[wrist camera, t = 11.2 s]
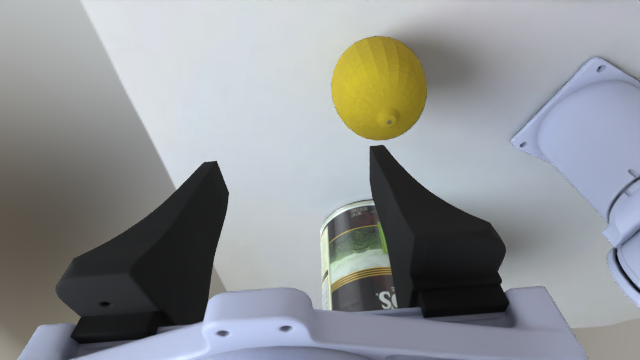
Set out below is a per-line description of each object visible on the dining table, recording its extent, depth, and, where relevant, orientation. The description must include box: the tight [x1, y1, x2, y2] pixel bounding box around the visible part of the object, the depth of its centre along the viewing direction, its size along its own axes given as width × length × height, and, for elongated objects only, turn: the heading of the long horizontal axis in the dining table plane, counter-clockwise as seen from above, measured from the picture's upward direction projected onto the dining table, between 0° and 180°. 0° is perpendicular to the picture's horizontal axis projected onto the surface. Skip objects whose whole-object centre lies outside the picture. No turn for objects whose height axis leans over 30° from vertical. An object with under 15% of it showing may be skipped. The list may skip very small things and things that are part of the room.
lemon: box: [331, 36, 427, 140], centre depth 20 cm, size 6×6×8 cm
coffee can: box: [320, 200, 398, 312], centre depth 29 cm, size 10×10×14 cm
